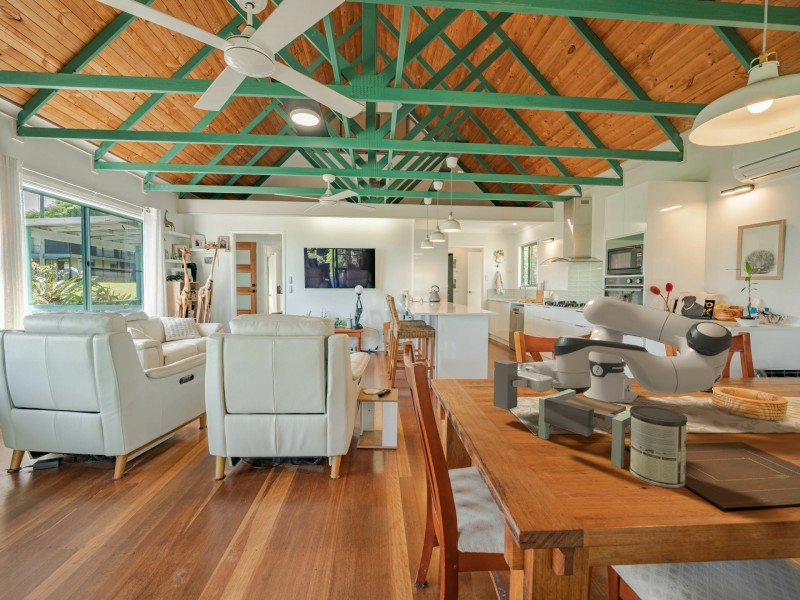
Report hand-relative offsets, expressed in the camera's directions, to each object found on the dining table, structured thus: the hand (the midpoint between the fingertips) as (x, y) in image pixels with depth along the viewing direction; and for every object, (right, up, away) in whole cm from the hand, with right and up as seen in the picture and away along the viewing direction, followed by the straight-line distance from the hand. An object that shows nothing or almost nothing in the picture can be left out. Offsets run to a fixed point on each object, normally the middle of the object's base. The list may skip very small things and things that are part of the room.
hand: (503, 381), depth 110 cm
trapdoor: (+16, -6, -17) cm, 24 cm away
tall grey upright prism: (+1, -8, +1) cm, 8 cm away
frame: (+19, -13, -15) cm, 28 cm away
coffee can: (+25, -14, -31) cm, 42 cm away
